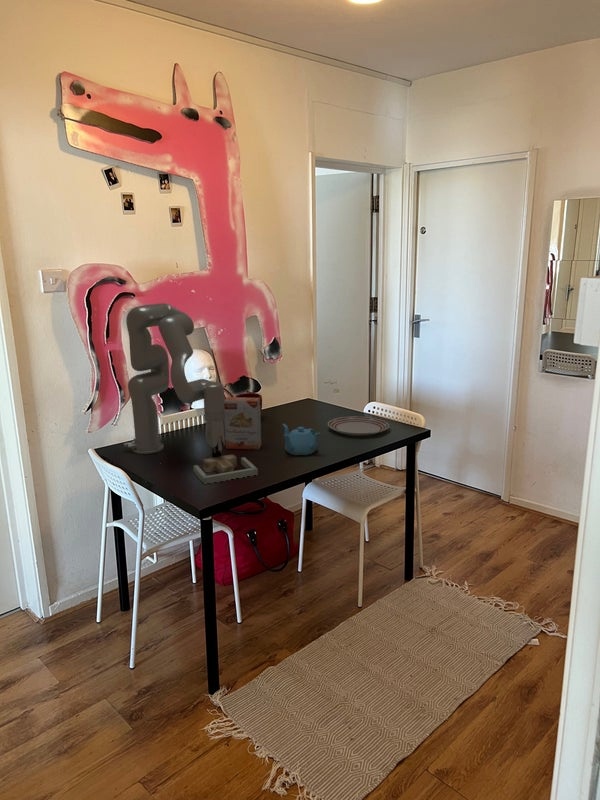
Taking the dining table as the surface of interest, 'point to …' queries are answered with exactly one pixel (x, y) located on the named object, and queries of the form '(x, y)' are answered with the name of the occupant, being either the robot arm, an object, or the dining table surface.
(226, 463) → the t block
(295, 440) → the teapot
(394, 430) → the dining table surface
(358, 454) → the dining table surface
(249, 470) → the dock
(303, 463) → the dining table surface
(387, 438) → the dining table surface
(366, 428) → the dinner plate
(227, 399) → the cracker box
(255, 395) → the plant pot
